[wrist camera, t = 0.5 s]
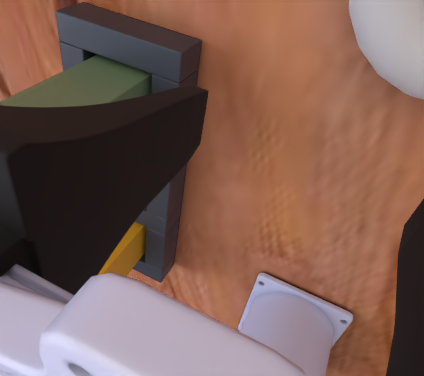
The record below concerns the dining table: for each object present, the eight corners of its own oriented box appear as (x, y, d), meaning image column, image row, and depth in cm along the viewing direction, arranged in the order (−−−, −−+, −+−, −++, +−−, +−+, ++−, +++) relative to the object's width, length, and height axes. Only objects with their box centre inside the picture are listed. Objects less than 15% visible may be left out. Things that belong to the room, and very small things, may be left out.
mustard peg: (155, 239, 35) (102, 307, 29) (119, 222, 36) (61, 285, 30) (157, 210, 32) (99, 278, 27) (118, 192, 33) (54, 254, 27)
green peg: (163, 118, 26) (63, 203, 19) (115, 100, 27) (3, 174, 20) (166, 64, 23) (52, 139, 16) (113, 46, 24) (-17, 109, 17)
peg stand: (174, 263, 36) (161, 283, 34) (101, 228, 38) (85, 245, 36) (202, 39, 22) (181, 52, 20) (83, 1, 23) (54, 10, 22)
